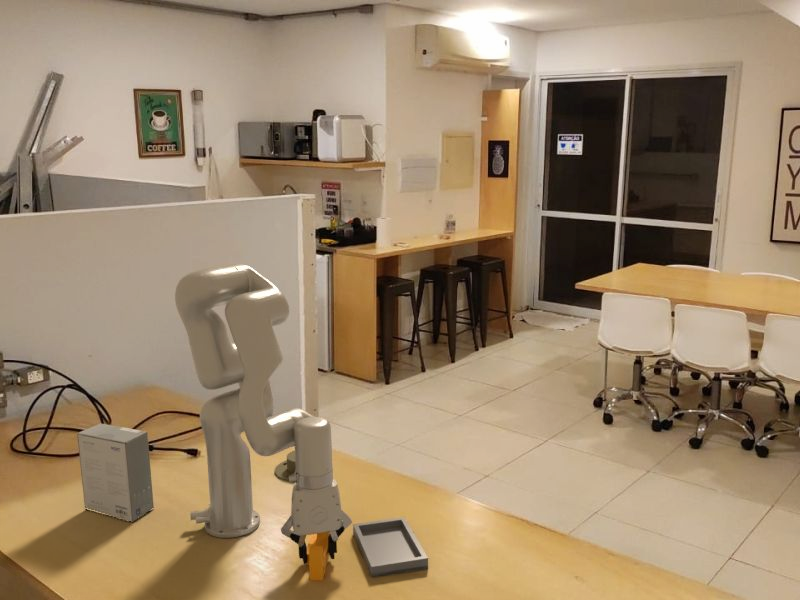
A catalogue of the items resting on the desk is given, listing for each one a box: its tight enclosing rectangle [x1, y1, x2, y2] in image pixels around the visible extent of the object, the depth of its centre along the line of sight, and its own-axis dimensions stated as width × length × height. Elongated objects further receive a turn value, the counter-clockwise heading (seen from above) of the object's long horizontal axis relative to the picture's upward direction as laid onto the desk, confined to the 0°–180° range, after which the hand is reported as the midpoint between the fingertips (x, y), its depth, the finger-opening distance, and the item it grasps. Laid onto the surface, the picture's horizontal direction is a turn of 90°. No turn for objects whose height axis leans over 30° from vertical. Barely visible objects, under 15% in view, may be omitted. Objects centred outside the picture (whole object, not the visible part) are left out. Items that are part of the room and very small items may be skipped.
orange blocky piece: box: [305, 532, 330, 581], centre depth 157 cm, size 12×4×6 cm, turn 177°
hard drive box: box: [76, 423, 155, 523], centre depth 179 cm, size 16×8×20 cm, turn 65°
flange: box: [274, 450, 296, 483], centre depth 202 cm, size 5×15×15 cm
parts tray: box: [352, 516, 429, 579], centre depth 162 cm, size 12×18×2 cm, turn 15°
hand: (318, 557), depth 158 cm, fingers closed on orange blocky piece, 5 cm apart
